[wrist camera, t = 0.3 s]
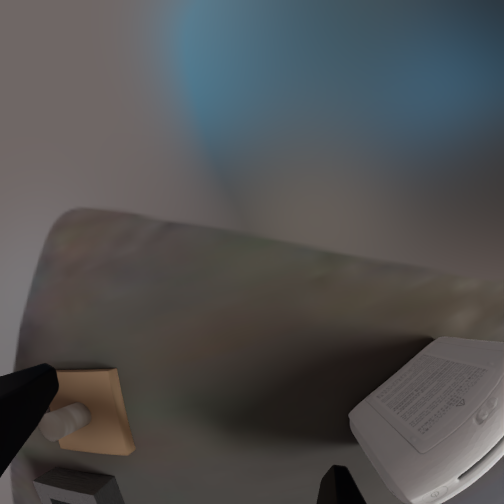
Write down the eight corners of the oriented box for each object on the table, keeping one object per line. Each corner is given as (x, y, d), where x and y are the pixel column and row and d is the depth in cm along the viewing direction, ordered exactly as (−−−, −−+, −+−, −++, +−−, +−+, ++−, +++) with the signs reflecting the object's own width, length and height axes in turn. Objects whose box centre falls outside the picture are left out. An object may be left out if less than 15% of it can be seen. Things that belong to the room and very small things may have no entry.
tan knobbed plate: (135, 449, 21) (101, 478, 15) (69, 443, 21) (30, 464, 15) (116, 368, 22) (74, 380, 16) (52, 370, 22) (6, 378, 17)
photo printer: (365, 451, 20) (427, 541, 8) (336, 414, 21) (391, 499, 8) (462, 366, 20) (571, 388, 8) (439, 327, 21) (552, 329, 9)
